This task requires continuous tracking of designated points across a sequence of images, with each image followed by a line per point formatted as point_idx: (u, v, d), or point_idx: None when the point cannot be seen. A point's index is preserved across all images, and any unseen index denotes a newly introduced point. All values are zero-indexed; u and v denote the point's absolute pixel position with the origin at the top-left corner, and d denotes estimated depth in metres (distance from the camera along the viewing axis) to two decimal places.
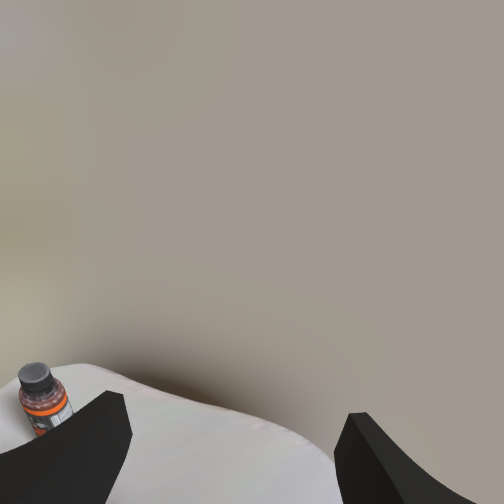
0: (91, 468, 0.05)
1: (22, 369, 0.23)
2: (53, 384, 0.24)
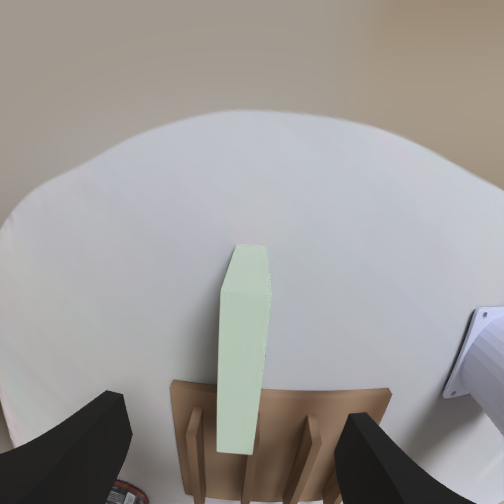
0: (91, 468, 0.05)
1: None
2: None
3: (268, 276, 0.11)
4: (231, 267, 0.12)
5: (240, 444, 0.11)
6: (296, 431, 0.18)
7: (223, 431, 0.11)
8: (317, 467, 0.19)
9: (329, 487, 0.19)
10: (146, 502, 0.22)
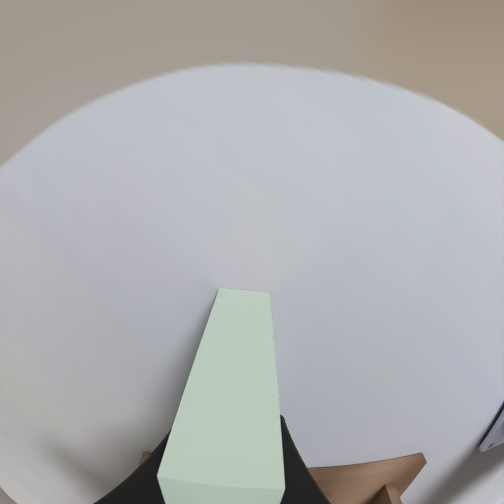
0: None
1: None
2: None
3: (275, 401, 0.05)
4: (197, 368, 0.05)
5: None
6: None
7: None
8: None
9: None
10: None
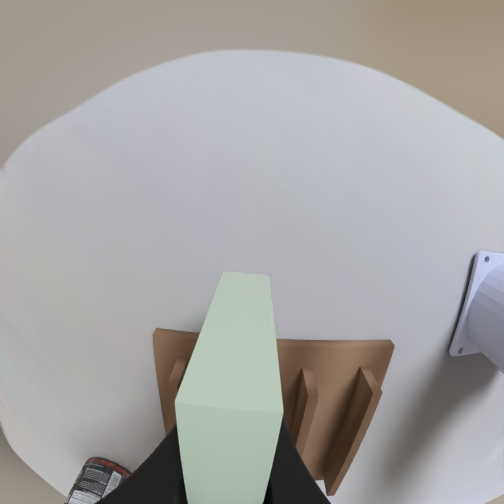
0: None
1: None
2: None
3: (274, 350, 0.06)
4: (207, 327, 0.06)
5: None
6: (291, 389, 0.18)
7: None
8: (315, 437, 0.19)
9: (330, 462, 0.19)
10: None
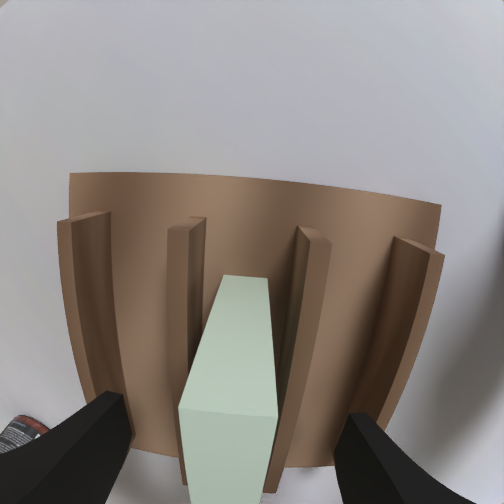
0: (91, 468, 0.05)
1: None
2: None
3: (271, 356, 0.06)
4: (208, 333, 0.07)
5: None
6: (279, 274, 0.11)
7: None
8: (323, 384, 0.12)
9: None
10: None
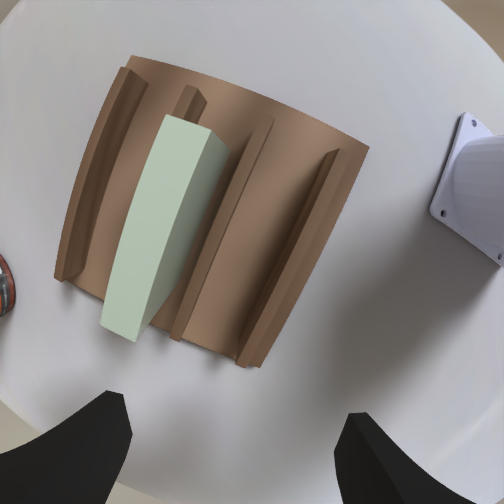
0: (91, 468, 0.05)
1: None
2: None
3: (217, 137, 0.10)
4: None
5: (126, 321, 0.10)
6: (240, 150, 0.15)
7: (113, 294, 0.10)
8: (247, 253, 0.17)
9: (255, 309, 0.17)
10: (10, 294, 0.18)
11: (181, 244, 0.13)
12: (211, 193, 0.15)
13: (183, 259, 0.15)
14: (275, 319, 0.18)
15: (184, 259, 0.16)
